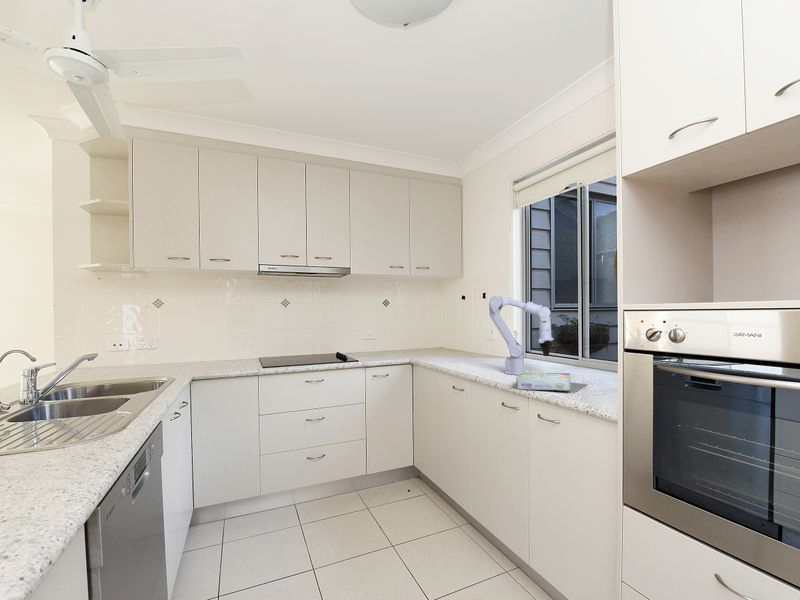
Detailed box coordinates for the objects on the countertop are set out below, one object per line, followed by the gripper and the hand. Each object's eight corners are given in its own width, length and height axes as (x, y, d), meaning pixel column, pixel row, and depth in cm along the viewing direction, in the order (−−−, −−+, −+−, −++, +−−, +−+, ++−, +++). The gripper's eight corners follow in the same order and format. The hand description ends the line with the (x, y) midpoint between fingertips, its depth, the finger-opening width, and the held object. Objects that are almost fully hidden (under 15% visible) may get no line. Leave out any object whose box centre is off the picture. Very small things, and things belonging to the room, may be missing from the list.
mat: (545, 389, 160) (545, 388, 160) (560, 382, 175) (560, 381, 175) (574, 393, 152) (574, 392, 152) (587, 385, 168) (587, 384, 168)
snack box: (569, 371, 165) (569, 378, 152) (570, 384, 165) (570, 391, 151) (520, 371, 174) (516, 377, 161) (521, 383, 174) (517, 390, 160)
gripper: (548, 330, 185) (549, 357, 184) (557, 329, 195) (558, 354, 195) (534, 330, 189) (535, 357, 189) (544, 329, 200) (545, 354, 200)
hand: (546, 355), depth 192 cm, fingers closed
